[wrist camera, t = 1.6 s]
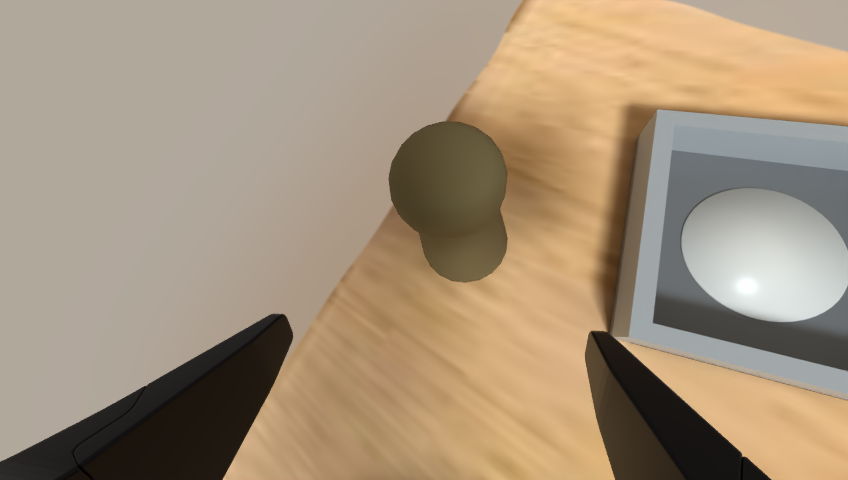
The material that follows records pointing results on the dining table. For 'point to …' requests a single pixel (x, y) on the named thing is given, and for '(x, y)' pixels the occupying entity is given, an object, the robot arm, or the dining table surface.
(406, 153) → the cork
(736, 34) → the dining table surface
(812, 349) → the walled pen
